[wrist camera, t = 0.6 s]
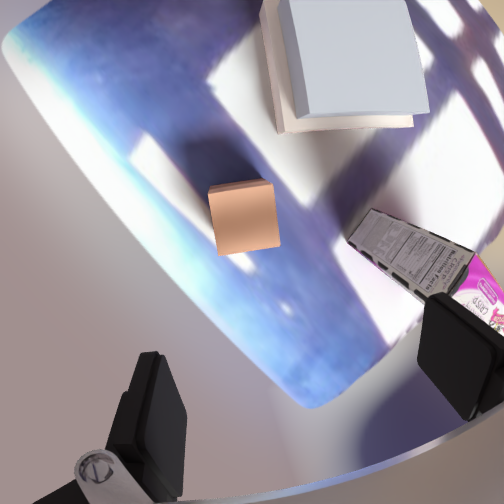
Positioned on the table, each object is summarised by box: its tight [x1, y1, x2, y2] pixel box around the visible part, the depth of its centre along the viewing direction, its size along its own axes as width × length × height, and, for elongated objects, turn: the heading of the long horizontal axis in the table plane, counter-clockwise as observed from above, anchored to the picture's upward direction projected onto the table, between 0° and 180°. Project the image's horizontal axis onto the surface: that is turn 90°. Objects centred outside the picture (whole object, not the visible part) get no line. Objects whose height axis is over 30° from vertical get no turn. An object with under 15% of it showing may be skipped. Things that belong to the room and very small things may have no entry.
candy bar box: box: [347, 208, 504, 336], centre depth 25 cm, size 11×5×16 cm, turn 55°
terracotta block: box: [208, 178, 280, 256], centre depth 27 cm, size 5×5×6 cm
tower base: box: [259, 0, 414, 134], centre depth 25 cm, size 13×13×4 cm
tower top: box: [277, 0, 430, 119], centre depth 21 cm, size 11×11×4 cm
